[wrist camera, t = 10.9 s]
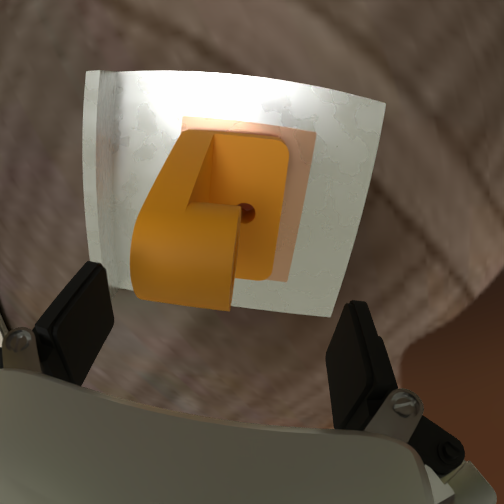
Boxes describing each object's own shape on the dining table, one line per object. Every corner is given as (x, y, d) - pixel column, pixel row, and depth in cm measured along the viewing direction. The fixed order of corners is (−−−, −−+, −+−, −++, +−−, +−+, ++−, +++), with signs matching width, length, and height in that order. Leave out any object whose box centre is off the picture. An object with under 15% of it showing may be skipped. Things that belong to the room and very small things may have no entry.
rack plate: (379, 102, 22) (401, 104, 18) (328, 307, 31) (335, 337, 27) (113, 73, 21) (86, 71, 17) (114, 278, 30) (96, 303, 26)
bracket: (270, 264, 27) (271, 373, 16) (186, 255, 27) (142, 355, 16) (288, 137, 22) (310, 174, 11) (190, 128, 22) (123, 158, 11)
